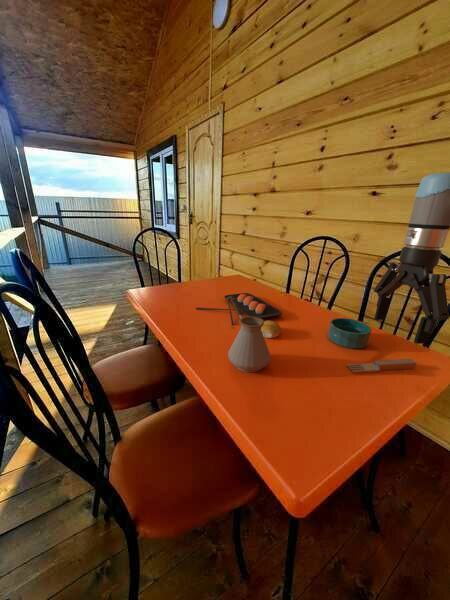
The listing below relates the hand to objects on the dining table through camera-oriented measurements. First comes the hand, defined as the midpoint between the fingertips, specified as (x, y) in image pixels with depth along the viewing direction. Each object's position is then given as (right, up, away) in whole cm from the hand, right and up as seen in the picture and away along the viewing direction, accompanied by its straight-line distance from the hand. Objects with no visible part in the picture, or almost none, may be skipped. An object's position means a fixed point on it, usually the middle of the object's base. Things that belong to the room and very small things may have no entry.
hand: (397, 330), depth 66 cm
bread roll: (-30, -4, +22) cm, 37 cm away
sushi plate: (-41, +3, +41) cm, 58 cm away
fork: (-2, -11, +4) cm, 12 cm away
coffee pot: (-40, -8, +8) cm, 42 cm away
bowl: (-4, -6, +19) cm, 20 cm away
